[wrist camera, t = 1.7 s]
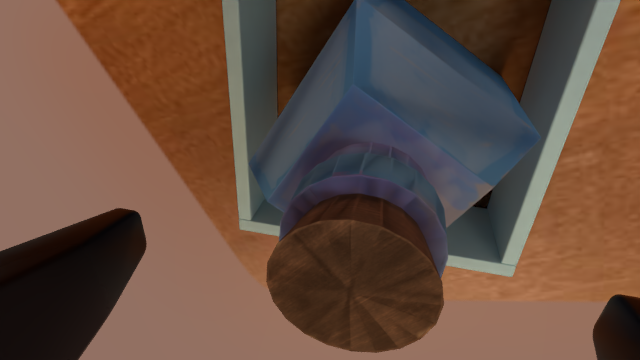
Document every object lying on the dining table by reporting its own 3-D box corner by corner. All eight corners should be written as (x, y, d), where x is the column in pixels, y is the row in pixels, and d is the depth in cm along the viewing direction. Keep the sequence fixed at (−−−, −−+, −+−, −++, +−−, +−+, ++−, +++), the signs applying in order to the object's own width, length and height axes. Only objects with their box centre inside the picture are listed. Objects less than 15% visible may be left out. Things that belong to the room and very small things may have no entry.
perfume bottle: (379, -20, 15) (295, 37, 5) (501, 76, 16) (643, 296, 6) (297, 103, 18) (145, 290, 8) (402, 178, 19) (381, 434, 9)
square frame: (268, 185, 21) (239, 229, 18) (260, -73, 15) (214, -80, 12) (496, 220, 19) (512, 277, 16) (588, -60, 13) (646, -63, 10)
